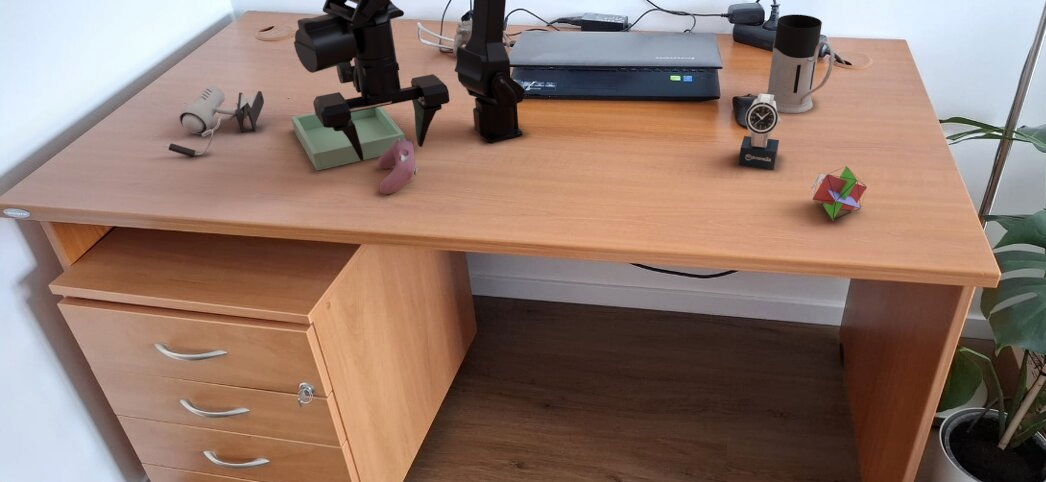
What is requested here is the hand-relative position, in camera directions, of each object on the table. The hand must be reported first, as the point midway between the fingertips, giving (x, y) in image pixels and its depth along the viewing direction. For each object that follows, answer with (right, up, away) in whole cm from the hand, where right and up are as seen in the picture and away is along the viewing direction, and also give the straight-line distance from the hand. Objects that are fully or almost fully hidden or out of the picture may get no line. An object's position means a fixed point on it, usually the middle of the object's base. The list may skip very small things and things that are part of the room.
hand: (391, 152), depth 125 cm
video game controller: (+1, -4, +1) cm, 4 cm away
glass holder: (+67, +11, +23) cm, 72 cm away
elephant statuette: (+8, +27, +44) cm, 52 cm away
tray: (-10, +4, +12) cm, 16 cm away
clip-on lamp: (-33, +5, +14) cm, 36 cm away
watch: (+57, -1, +6) cm, 57 cm away
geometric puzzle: (+66, -10, -7) cm, 67 cm away
